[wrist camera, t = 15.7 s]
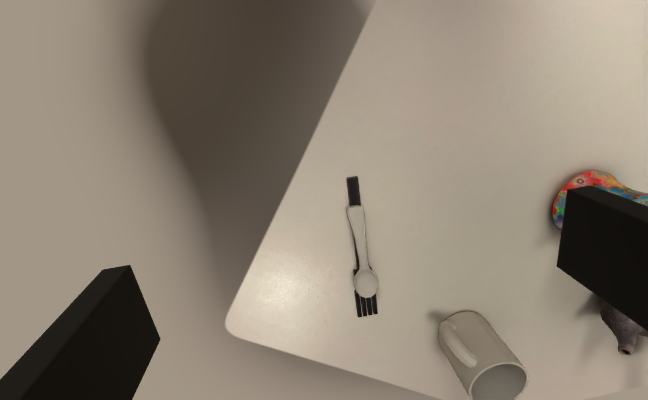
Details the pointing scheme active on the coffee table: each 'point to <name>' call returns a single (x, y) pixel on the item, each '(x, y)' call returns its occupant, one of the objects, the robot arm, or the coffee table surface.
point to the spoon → (362, 255)
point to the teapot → (621, 328)
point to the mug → (599, 181)
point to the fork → (355, 200)
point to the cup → (481, 358)
